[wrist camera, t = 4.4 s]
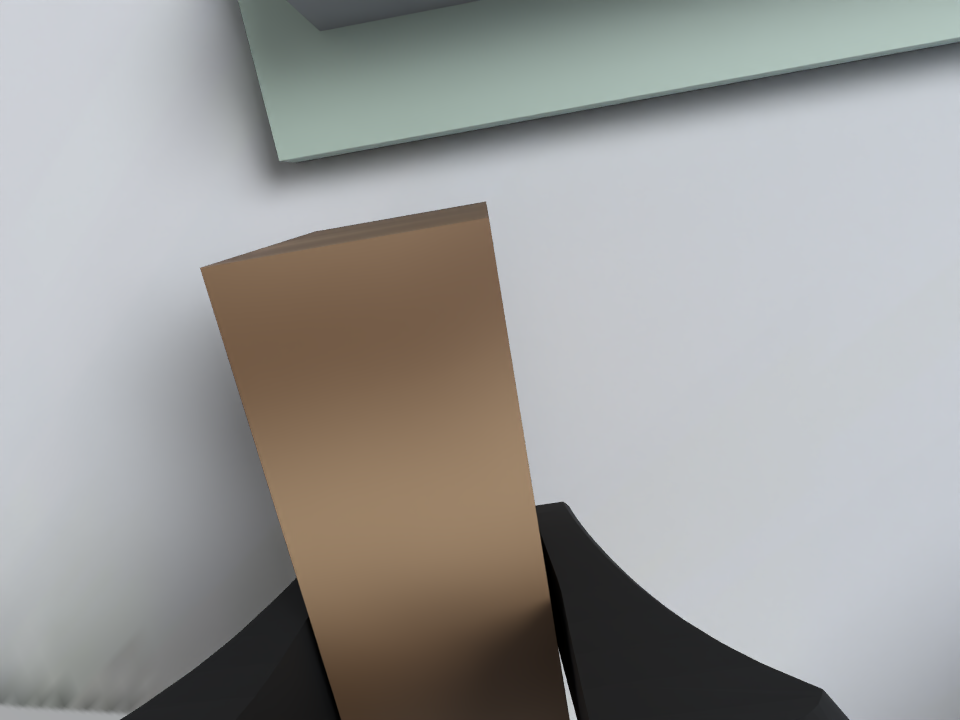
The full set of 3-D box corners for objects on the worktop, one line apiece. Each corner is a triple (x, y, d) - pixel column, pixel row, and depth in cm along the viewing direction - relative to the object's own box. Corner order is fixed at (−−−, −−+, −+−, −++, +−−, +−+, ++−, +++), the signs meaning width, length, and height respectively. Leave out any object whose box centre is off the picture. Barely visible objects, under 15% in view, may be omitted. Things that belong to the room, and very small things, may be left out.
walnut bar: (571, 732, 16) (611, 976, 11) (443, 749, 16) (427, 995, 11) (486, 201, 12) (488, 217, 7) (314, 231, 12) (200, 268, 7)
